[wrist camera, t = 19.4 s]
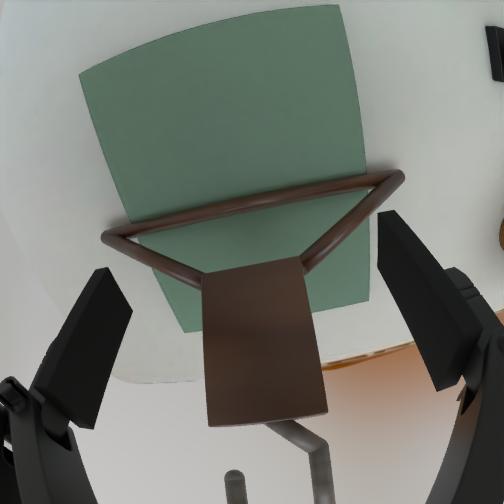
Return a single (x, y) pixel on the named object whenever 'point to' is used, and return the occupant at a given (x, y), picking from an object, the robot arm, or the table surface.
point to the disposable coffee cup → (502, 236)
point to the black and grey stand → (496, 51)
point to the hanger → (263, 320)
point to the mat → (238, 145)
